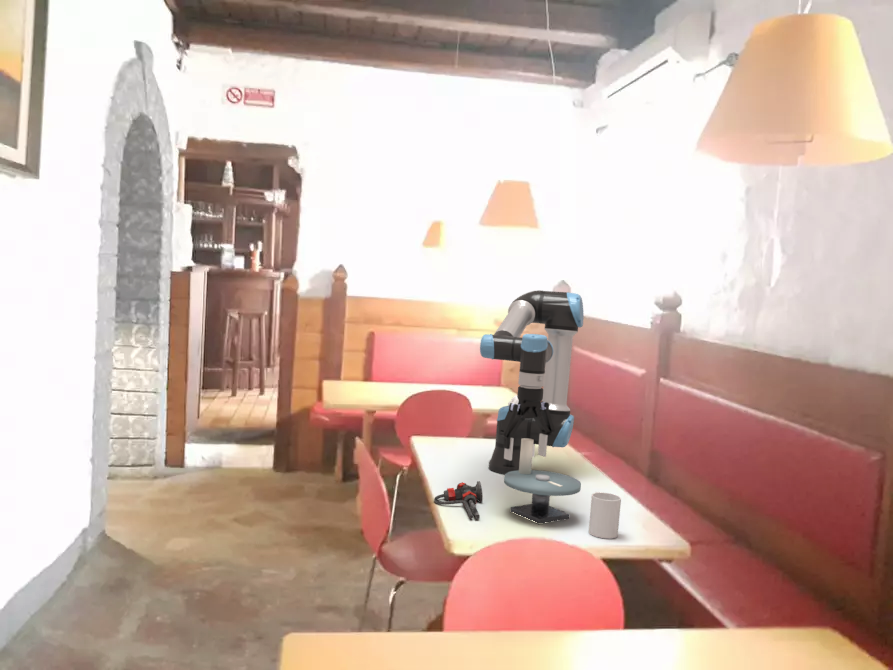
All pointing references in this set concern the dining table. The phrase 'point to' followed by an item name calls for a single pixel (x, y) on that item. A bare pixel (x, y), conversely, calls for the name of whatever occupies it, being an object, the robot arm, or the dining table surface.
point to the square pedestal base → (540, 510)
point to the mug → (604, 515)
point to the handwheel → (539, 477)
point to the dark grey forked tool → (463, 497)
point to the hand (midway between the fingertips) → (525, 457)
